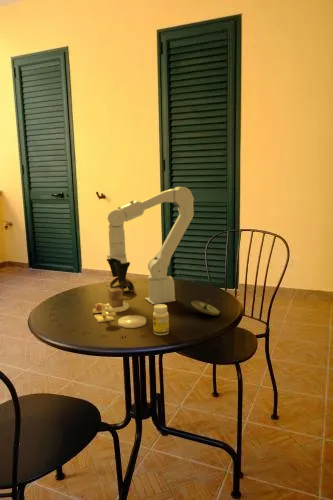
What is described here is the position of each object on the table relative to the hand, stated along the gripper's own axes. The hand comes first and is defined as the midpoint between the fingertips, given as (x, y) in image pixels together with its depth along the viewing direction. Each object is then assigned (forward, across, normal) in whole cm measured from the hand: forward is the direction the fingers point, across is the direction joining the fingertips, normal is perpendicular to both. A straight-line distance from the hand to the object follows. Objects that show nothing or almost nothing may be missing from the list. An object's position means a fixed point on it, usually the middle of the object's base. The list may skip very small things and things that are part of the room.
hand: (118, 278), depth 151 cm
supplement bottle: (+10, +34, +2) cm, 35 cm away
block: (+8, +5, -3) cm, 10 cm away
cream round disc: (+9, +22, -3) cm, 24 cm away
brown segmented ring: (+10, -13, +6) cm, 17 cm away
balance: (+9, +14, -10) cm, 19 cm away
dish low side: (+9, +5, -3) cm, 11 cm away
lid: (+10, +25, +22) cm, 35 cm away
